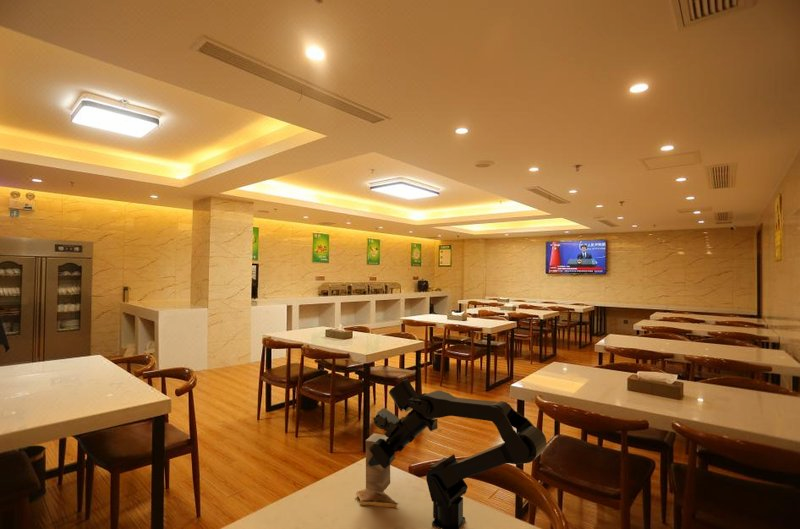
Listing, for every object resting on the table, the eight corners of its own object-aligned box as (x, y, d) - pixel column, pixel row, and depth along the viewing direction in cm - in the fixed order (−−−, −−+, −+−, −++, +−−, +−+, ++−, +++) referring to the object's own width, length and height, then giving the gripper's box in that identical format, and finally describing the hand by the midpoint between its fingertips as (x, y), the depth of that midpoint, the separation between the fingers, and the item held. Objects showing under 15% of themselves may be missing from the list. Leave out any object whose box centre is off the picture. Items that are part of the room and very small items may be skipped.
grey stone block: (390, 483, 108) (390, 436, 109) (382, 492, 104) (382, 443, 104) (374, 479, 110) (373, 433, 111) (365, 488, 106) (365, 440, 106)
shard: (398, 509, 103) (398, 502, 103) (373, 519, 98) (373, 512, 98) (375, 490, 112) (375, 484, 112) (352, 499, 107) (352, 493, 107)
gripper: (404, 392, 115) (370, 424, 119) (377, 412, 98) (338, 449, 101) (429, 423, 112) (394, 455, 116) (406, 449, 94) (365, 486, 98)
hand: (373, 460), depth 108 cm, fingers closed on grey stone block, 5 cm apart
